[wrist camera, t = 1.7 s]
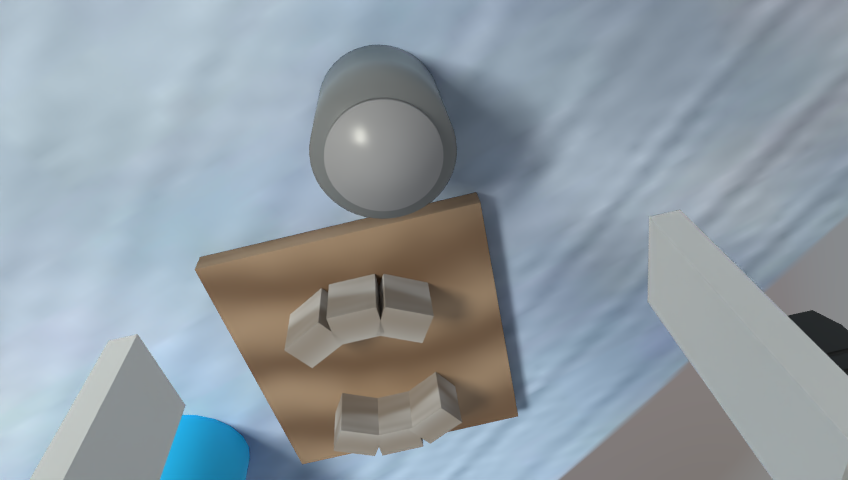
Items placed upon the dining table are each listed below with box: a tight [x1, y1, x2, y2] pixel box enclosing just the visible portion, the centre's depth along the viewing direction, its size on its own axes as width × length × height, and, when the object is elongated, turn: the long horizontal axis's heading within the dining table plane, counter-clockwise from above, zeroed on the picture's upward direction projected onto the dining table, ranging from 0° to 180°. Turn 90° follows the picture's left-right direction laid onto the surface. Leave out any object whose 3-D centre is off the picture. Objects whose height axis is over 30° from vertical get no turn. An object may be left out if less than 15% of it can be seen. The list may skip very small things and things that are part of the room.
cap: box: [309, 45, 457, 219], centre depth 25 cm, size 6×6×6 cm
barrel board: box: [195, 192, 518, 464], centre depth 34 cm, size 18×16×4 cm
